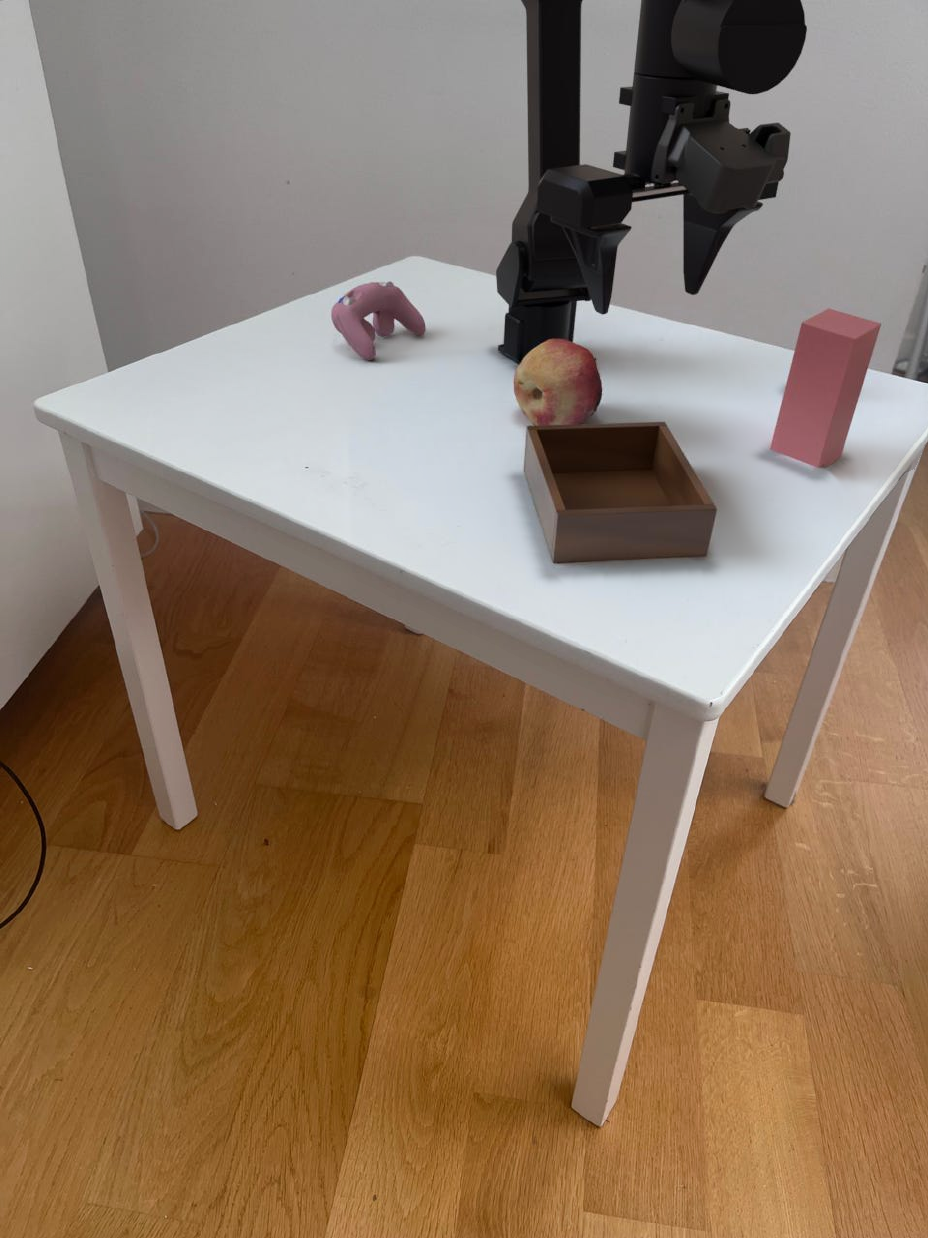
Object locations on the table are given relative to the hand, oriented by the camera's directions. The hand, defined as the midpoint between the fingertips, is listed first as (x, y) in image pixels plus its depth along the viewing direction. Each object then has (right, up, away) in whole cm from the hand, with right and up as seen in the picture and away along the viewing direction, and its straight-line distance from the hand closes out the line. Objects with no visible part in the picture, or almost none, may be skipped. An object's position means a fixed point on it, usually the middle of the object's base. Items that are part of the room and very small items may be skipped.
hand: (647, 302), depth 74 cm
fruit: (-6, -7, +12) cm, 15 cm away
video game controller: (-23, +5, +27) cm, 36 cm away
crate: (-3, -17, 0) cm, 17 cm away
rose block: (+15, -10, +9) cm, 21 cm away
